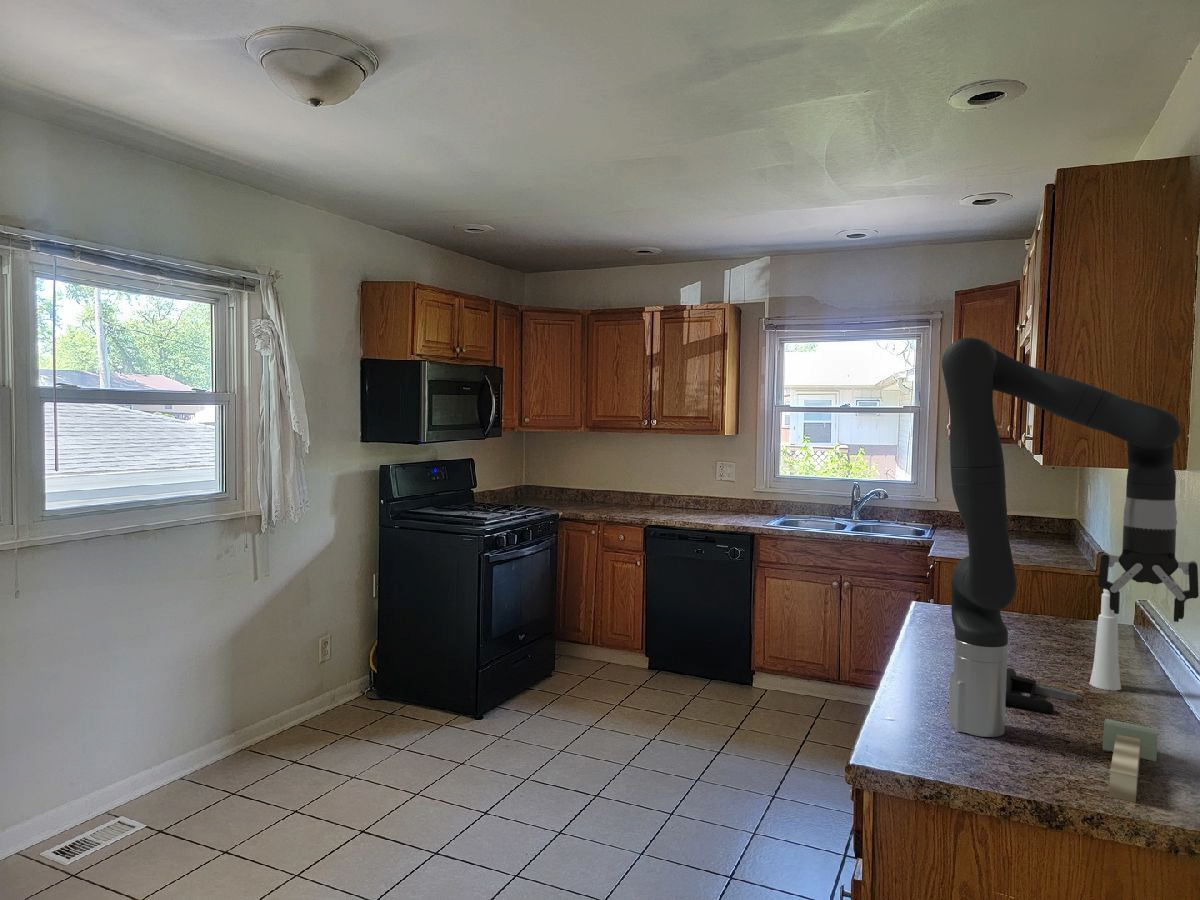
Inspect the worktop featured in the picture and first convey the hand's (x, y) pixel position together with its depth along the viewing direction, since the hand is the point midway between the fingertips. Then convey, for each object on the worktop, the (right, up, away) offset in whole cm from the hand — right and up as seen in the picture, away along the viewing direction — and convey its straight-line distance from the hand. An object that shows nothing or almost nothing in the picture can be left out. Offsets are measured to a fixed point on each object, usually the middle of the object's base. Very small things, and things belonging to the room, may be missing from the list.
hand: (1145, 617), depth 137 cm
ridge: (+1, -26, +6) cm, 26 cm away
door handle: (-1, -25, +33) cm, 42 cm away
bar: (-7, -26, -5) cm, 28 cm away
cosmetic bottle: (+19, -25, +41) cm, 51 cm away
